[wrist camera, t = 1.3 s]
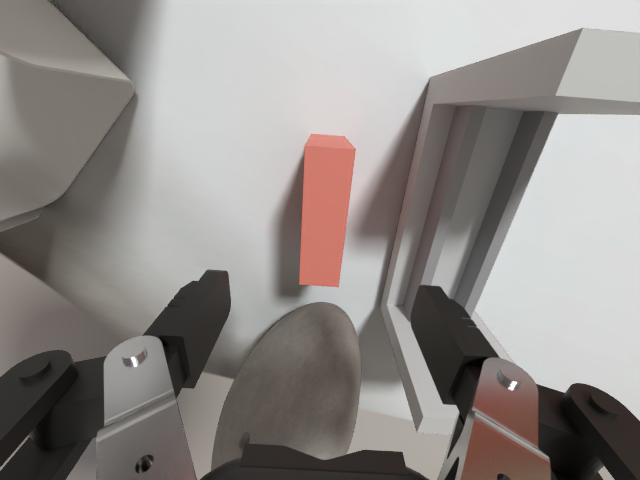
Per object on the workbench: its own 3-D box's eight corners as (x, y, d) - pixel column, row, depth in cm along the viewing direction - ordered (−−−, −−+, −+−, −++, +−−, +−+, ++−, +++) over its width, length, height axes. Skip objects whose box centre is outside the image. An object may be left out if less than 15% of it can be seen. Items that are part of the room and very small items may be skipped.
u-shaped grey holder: (430, 77, 21) (583, 28, 9) (550, 86, 22) (866, 52, 9) (380, 306, 32) (416, 432, 19) (460, 311, 32) (548, 439, 20)
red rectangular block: (311, 133, 23) (305, 145, 15) (344, 136, 24) (355, 149, 15) (306, 234, 28) (299, 284, 20) (334, 236, 28) (338, 287, 20)
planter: (269, 368, 37) (225, 581, 20) (228, 343, 35) (141, 557, 18) (367, 293, 31) (418, 507, 14) (324, 257, 29) (326, 458, 12)
